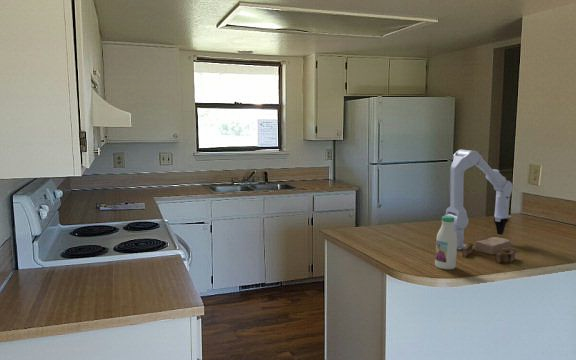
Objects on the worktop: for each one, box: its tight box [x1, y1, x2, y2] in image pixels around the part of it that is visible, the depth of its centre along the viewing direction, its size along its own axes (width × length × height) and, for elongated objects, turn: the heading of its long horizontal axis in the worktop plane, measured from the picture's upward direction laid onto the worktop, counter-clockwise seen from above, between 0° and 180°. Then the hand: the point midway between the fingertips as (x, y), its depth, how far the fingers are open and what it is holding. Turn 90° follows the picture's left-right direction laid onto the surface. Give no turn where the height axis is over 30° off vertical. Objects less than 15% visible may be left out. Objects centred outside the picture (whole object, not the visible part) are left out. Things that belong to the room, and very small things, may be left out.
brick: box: [474, 236, 511, 255], centre depth 198 cm, size 17×8×5 cm, turn 128°
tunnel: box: [461, 243, 516, 264], centre depth 186 cm, size 18×11×4 cm, turn 52°
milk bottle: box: [434, 215, 458, 270], centre depth 173 cm, size 8×8×20 cm
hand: (500, 234), depth 209 cm, fingers closed
